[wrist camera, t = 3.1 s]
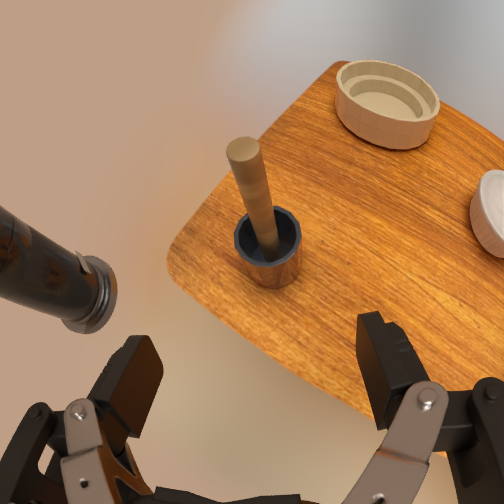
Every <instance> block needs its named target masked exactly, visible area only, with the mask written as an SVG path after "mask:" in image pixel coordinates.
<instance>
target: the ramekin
mask: <svg viewBox="0 0 504 504" xmlns="http://www.w3.org/2000/svg"><path fill="white" fill-rule="evenodd" d="M469 212H470V221H471V226H472V229H473V231H474V234H475V236H476V238H477V239H478V241H479V242H480V244H481V245H482V246H483V247H484V248H485V249H486V250H487V251H488V252H489V253H491V254H492V255H494V256H496V257H499V258H504V171H501V170H490V171H488V172H486V173H485V174H484V175H483V176H482V178H481V179H480V181H479V183H478V187H477V190H476V192H475V194H474V196H473V198H472V201H471V204H470V211H469Z"/></svg>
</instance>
